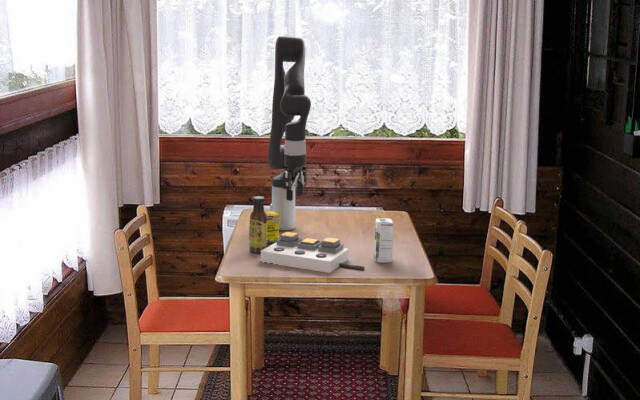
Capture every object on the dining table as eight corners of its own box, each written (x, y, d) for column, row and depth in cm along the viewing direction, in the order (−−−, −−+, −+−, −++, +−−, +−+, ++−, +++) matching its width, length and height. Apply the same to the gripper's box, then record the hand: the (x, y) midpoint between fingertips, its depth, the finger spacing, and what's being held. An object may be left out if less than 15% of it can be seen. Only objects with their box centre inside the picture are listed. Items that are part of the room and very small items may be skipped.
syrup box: (373, 257, 280) (374, 218, 277) (389, 257, 280) (391, 217, 277) (375, 262, 274) (377, 222, 271) (392, 262, 275) (394, 222, 272)
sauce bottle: (245, 251, 285) (245, 197, 280) (255, 247, 290) (255, 194, 286) (260, 254, 282) (260, 199, 277) (270, 250, 287) (270, 196, 282)
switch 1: (280, 240, 280) (280, 234, 279) (286, 236, 284) (286, 231, 283) (292, 242, 278) (292, 236, 277) (298, 238, 282) (298, 233, 282)
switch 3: (321, 246, 273) (321, 240, 273) (327, 242, 278) (327, 237, 277) (334, 248, 271) (334, 242, 271) (339, 244, 276) (340, 239, 275)
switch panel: (260, 262, 273) (260, 246, 272) (281, 249, 288) (281, 234, 286) (355, 277, 259) (356, 260, 258) (373, 263, 274) (373, 247, 272)
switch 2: (300, 246, 277) (300, 241, 276) (306, 243, 281) (306, 237, 281) (313, 248, 275) (313, 243, 274) (318, 245, 279) (318, 239, 279)
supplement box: (264, 244, 294) (264, 216, 291) (258, 240, 299) (258, 212, 296) (279, 242, 296) (279, 214, 294) (272, 238, 301) (272, 210, 299)
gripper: (294, 148, 285) (294, 192, 289) (276, 154, 272) (276, 200, 276) (313, 150, 282) (312, 194, 286) (296, 156, 269) (295, 203, 273)
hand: (294, 197), depth 281 cm, fingers open, 8 cm apart
